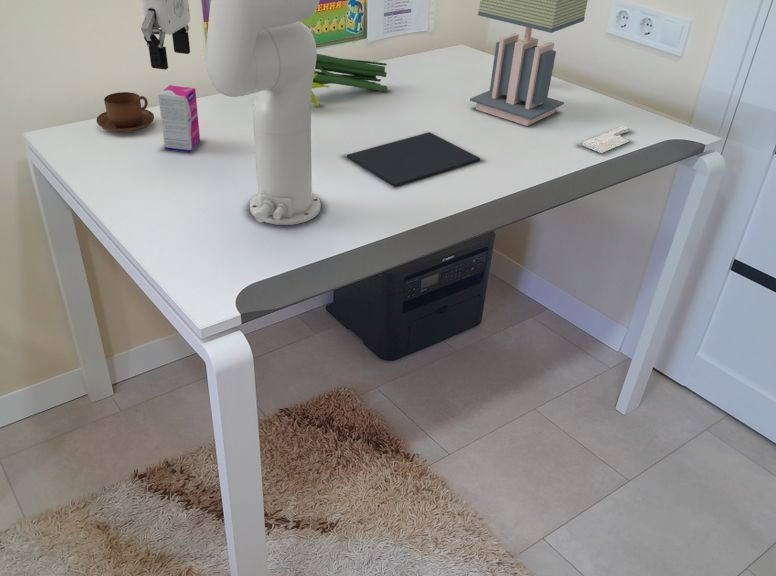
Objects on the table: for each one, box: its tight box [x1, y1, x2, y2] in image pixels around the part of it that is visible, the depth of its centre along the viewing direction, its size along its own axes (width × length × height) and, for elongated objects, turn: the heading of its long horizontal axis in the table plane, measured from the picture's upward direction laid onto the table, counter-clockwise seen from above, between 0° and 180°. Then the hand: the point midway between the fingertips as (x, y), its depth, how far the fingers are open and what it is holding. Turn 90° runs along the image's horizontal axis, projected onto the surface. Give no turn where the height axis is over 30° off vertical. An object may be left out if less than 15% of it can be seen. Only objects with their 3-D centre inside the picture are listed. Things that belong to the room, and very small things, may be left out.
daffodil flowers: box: [311, 53, 388, 107], centre depth 169 cm, size 17×15×35 cm
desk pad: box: [346, 131, 481, 188], centre depth 147 cm, size 22×16×1 cm
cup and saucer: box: [96, 91, 155, 133], centre depth 155 cm, size 12×12×6 cm
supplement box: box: [157, 84, 201, 153], centre depth 146 cm, size 6×6×12 cm
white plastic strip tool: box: [581, 125, 630, 154], centre depth 157 cm, size 5×15×1 cm, turn 130°
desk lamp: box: [469, 0, 589, 127], centre depth 160 cm, size 18×14×33 cm
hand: (171, 60), depth 139 cm, fingers open, 9 cm apart
